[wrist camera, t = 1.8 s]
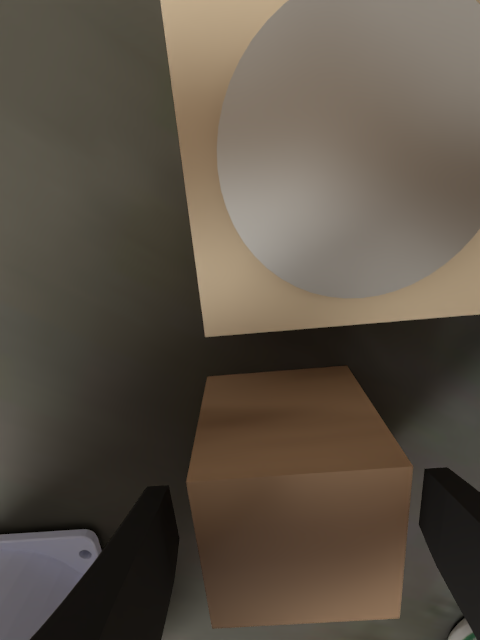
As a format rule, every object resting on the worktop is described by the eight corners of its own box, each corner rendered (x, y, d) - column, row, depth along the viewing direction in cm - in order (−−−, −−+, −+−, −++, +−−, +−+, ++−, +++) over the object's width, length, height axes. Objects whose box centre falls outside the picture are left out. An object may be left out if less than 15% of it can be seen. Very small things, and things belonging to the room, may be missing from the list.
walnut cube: (345, 475, 14) (399, 618, 9) (222, 484, 14) (212, 628, 9) (346, 364, 12) (413, 466, 7) (207, 375, 12) (185, 482, 8)
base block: (456, 288, 11) (522, 315, 8) (212, 309, 11) (204, 341, 9) (491, -21, 9) (604, -123, 6) (176, 16, 9) (149, -65, 6)
